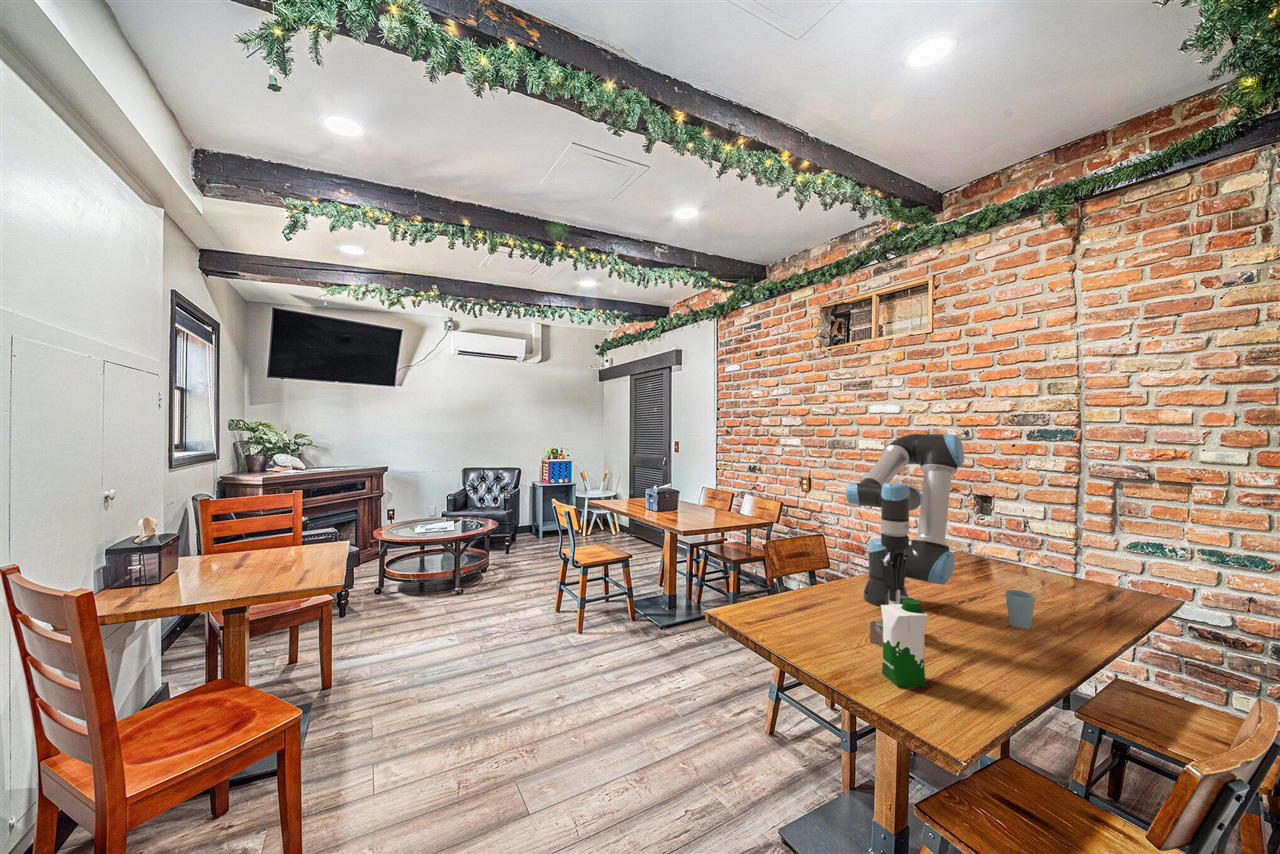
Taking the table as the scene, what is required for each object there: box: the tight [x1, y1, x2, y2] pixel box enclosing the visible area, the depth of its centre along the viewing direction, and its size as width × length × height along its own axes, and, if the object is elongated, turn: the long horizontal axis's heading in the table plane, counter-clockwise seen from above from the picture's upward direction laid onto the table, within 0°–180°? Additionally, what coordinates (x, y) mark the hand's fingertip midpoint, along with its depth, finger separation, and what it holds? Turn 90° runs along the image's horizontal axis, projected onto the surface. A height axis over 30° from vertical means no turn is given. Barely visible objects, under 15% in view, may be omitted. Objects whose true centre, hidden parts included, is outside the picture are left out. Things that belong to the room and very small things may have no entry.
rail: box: [869, 619, 883, 648], centre depth 147 cm, size 18×10×7 cm, turn 127°
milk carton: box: [880, 598, 929, 689], centre depth 122 cm, size 9×9×20 cm
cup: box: [1005, 589, 1036, 630], centre depth 157 cm, size 8×8×10 cm
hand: (894, 610), depth 146 cm, fingers closed
